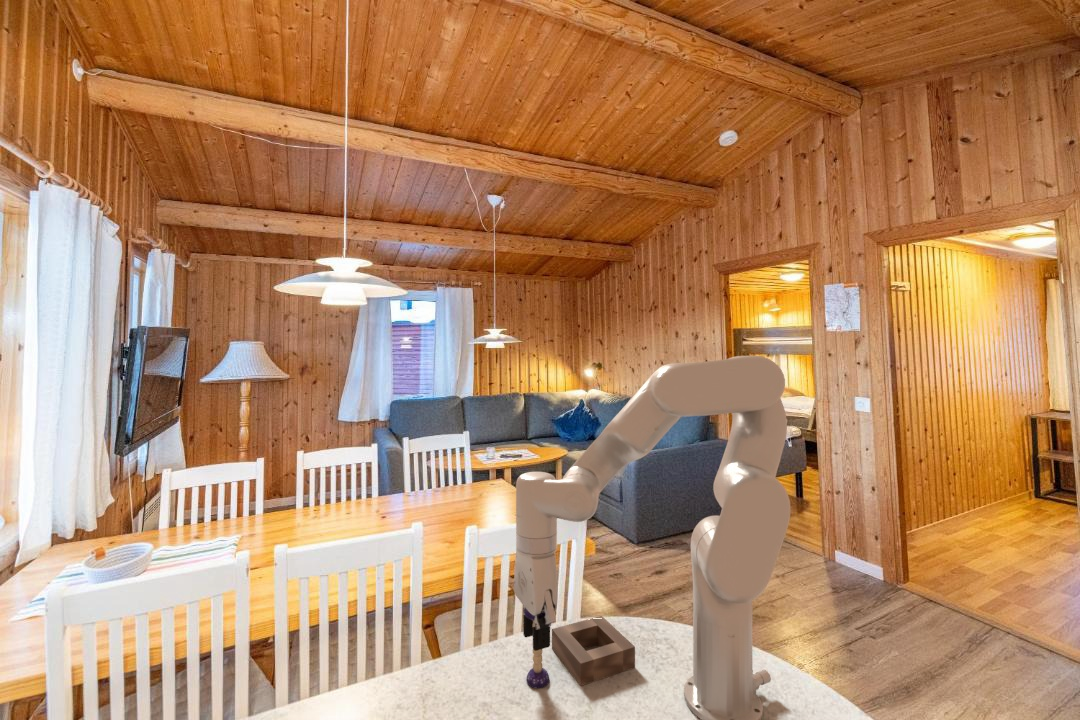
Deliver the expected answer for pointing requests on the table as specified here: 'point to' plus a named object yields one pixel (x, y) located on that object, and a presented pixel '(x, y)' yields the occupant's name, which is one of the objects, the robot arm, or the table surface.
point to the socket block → (597, 662)
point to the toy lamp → (536, 663)
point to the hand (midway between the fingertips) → (536, 640)
